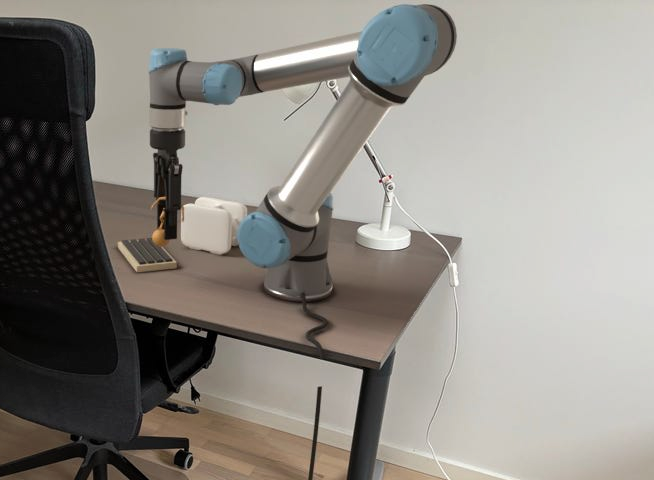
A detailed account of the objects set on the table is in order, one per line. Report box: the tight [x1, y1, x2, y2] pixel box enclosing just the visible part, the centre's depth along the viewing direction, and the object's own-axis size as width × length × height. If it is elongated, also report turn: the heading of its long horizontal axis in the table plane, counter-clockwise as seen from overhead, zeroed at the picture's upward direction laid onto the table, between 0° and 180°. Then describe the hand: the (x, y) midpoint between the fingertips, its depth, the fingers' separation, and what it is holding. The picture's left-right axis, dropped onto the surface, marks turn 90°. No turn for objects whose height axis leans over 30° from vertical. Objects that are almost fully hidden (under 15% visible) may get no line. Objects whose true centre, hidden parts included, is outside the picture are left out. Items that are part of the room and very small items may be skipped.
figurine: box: [150, 197, 184, 248], centre depth 165 cm, size 8×6×12 cm
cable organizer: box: [180, 196, 248, 256], centre depth 192 cm, size 15×11×12 cm
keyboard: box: [117, 237, 178, 273], centre depth 186 cm, size 19×10×2 cm, turn 18°
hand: (166, 235), depth 166 cm, fingers open, 5 cm apart
